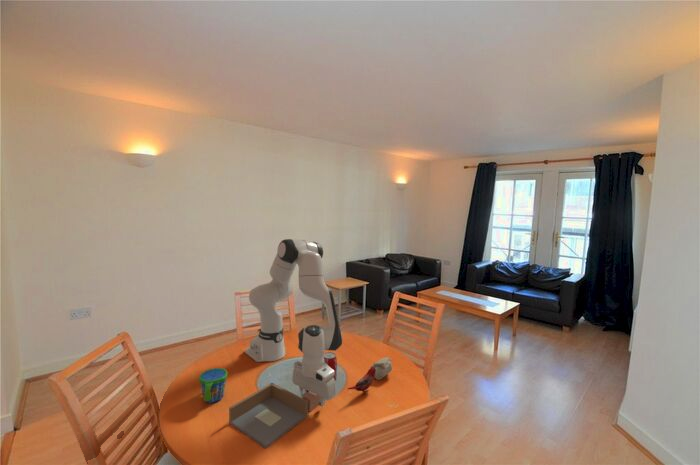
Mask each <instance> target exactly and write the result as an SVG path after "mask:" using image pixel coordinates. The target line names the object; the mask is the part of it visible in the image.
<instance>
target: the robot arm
mask: <svg viewBox="0 0 700 465" xmlns="http://www.w3.org/2000/svg"><path fill="white" fill-rule="evenodd" d="M323 255H324V249H323V246H322V244H320V243H319V242H316V241H310V240H305V239H290V238H287V239H283V240H281V241H280V242H279V244H278V246H277V253H276V255H275V257H274V259H273V261H272V265H271V266H270V269H269V274H270V277H271V278H272V280H271V281H270V282H267V283H264V284H260V285H258V286H255V287H254V288H252V289H251V290H250V291H249V295H248V300H249V303H250V304H251V306H252V307H253V308H255V309H256V310H257V311H258V313H259V316H260V318H259V320H260V328H259V329H257V332H258V335H256V336H255V337H254V338H252V339H251V340H250V342H249V346H248V347H247V348H245V350H244V353H245V354H246V355H247V356H249V357H250V358H251V359H252V360H254V361H255V362H257V363H262V362H273V361H274V362H275V361H279V360H281V359H283V358H284V357H285V356H286V347H285V339H284V328H283V313H282V312H281V311H280V310H278V309H277V307H276V304H277V303H279V302H282V301H283V302H284V301H285V300H286V299H288V298H289V297H291V296H292V294H293V291H294V287H293V284H292V283H291V278H292V275H293V273H294V271H295V270H296V267H297V266H298V287H299V288H298V289H299V290H300V292H301V293H302V294H303V295H304V296H306V297H308V298H310V299H314V300H315V301H319V302H320V303H322V304H323V305H324V307H325V309H326V315H327V320H328V325H326V326H325V325H323V326H320V325H316V324H311V325H307V326H306V327H303V328H302V329H301V330H300V331H299V332H298V333H297V334H298V335H297V336H298V345H297V347H298V349H299V350H300V352H302V359H301V362H300V361H295V362H294V363H293V370H292V375H291V377H292V378H291V381H292V383H293V384H294V385H296V386H298V389H299V391H300V395H301V396H300V397H301V398H303V395H305V394H306V393H308V392H309V391H310V392H312V393H314V394H316V395H318V396H321V399H322V400H321V401H319V405H318V407H322V408H323V407H324V406H325V404H326V403H325V401H326V400H327V401H330V400H332V399H333V398H334V397H335V395H336V381H335V379H334V378H333V376H334V375H335V371H334V370H333V369H332V368H330V367H329V366H328V365H327V364H326V363H325V362H324V353H325V351H330V352H332V351H333V352H334V351H337V350H339V348H340V347H342V345H343V333H342V330H341V328H340V322H339V318H338V313H337V308H336V304H335V303H336V302H335V298H334V294H333V292H332V289H331V288H330V287H328V286H327V284H326V283H325V279H324V278H325V277H324V264H323V260H322V258H323ZM307 391H308V392H307Z"/></svg>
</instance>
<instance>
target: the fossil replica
mask: <svg viewBox="0 0 700 465" xmlns="http://www.w3.org/2000/svg"><path fill="white" fill-rule="evenodd" d="M371 367H375V369H376V371H375V376H374V379H375V380H377V381H381V380H382V379H383V378H384V377H386V376H387V375H388V374H389V373H391V372H392V370H393V365H392V359H391V358H390V357H386V356H385V357H382V358H381V359H380V358H379V360H377V361H376V362H374V363H372V364H371V366H370V368H371Z"/></svg>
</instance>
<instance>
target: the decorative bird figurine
mask: <svg viewBox="0 0 700 465" xmlns="http://www.w3.org/2000/svg"><path fill="white" fill-rule="evenodd" d="M375 371H376V369H375V367H371V366H370V368H369V369H368V370H367V372H366V374H364V375H363V377H361V378H360V379H359V380H358V381H357V383H356V384H355V385H353V386H350V387H348V388H347V390H355V391H357V392H362V395H363V394H365V393H368V391H369V390H370V389H369V388H370V387H371V385H372V384H373V382H374V379H375V378H374V376H375Z"/></svg>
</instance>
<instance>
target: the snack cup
mask: <svg viewBox="0 0 700 465" xmlns="http://www.w3.org/2000/svg"><path fill="white" fill-rule="evenodd" d="M227 377H228V371H227V369H225V368H221V367H216V368H215V367H214V368H210V369H207V370H205V371H202V373H200V375H199V377H198V381H199V383H200V388H201V392H202V393H201V394H202V398H203V401H204V402H205V403H210V404H212V403H216V402H218V401H221V400H222V398H223V397H224V396H225V389H226V382H227Z"/></svg>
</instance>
